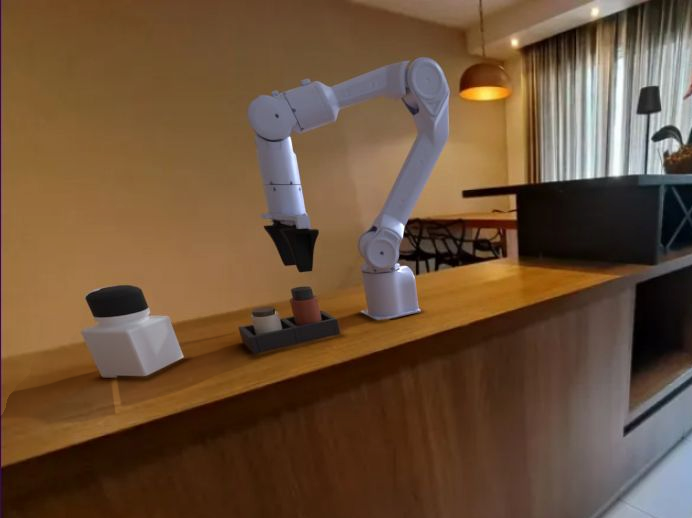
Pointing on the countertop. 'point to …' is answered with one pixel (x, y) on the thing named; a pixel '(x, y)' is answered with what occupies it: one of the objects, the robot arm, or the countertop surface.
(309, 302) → the spice bottle
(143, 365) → the medicine bottle
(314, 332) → the holder
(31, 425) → the countertop surface
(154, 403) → the countertop surface
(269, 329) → the cream jar
